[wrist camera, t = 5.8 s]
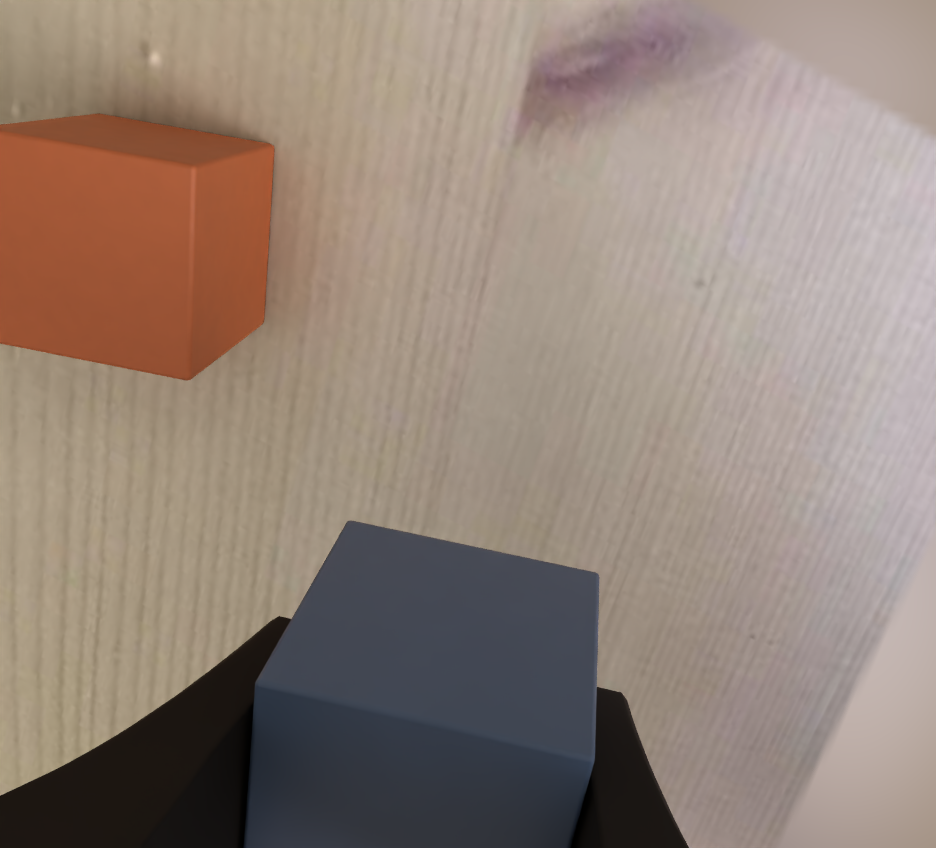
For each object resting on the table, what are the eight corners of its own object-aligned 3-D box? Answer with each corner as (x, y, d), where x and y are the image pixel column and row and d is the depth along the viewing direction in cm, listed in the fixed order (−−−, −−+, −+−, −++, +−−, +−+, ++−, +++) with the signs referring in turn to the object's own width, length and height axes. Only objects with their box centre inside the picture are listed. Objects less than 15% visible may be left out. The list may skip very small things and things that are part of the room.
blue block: (600, 571, 14) (596, 759, 10) (551, 767, 15) (531, 992, 12) (347, 517, 14) (253, 681, 10) (324, 716, 16) (236, 919, 12)
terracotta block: (276, 143, 19) (195, 165, 15) (265, 324, 20) (189, 382, 17) (96, 112, 19) (-26, 125, 15) (99, 292, 21) (-11, 343, 17)
